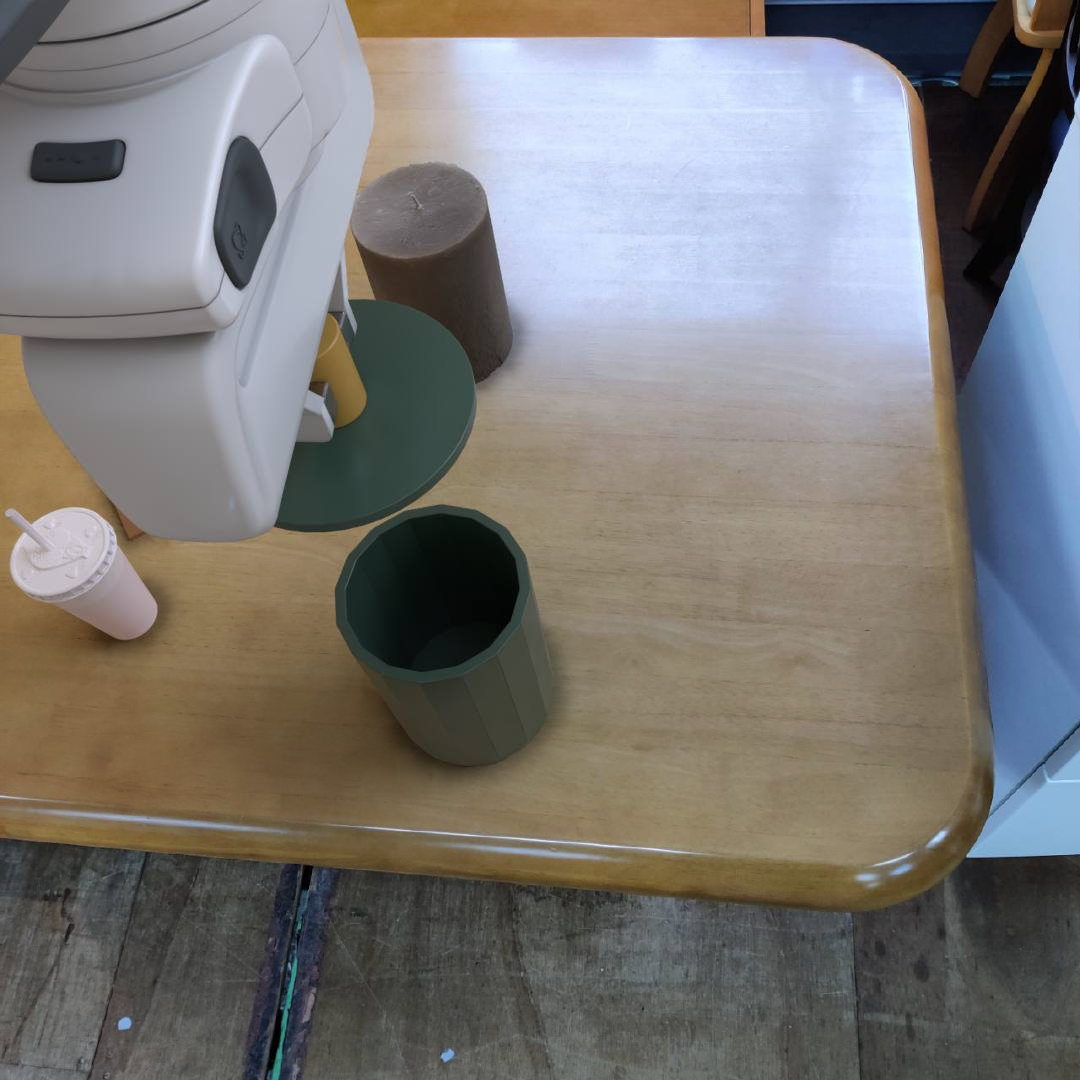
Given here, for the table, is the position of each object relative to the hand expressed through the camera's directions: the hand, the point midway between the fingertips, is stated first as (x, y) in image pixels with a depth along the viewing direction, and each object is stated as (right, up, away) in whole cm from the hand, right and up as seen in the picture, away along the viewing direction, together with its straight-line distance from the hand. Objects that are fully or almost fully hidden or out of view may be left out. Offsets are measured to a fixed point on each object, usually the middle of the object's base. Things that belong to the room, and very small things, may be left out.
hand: (325, 385), depth 37 cm
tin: (+4, -16, +25) cm, 30 cm away
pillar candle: (+1, +10, +40) cm, 41 cm away
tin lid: (0, -1, +2) cm, 2 cm away
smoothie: (-20, -11, +31) cm, 38 cm away
